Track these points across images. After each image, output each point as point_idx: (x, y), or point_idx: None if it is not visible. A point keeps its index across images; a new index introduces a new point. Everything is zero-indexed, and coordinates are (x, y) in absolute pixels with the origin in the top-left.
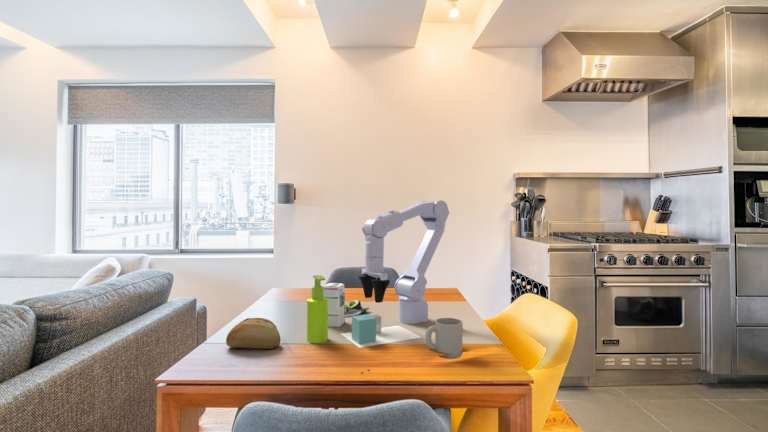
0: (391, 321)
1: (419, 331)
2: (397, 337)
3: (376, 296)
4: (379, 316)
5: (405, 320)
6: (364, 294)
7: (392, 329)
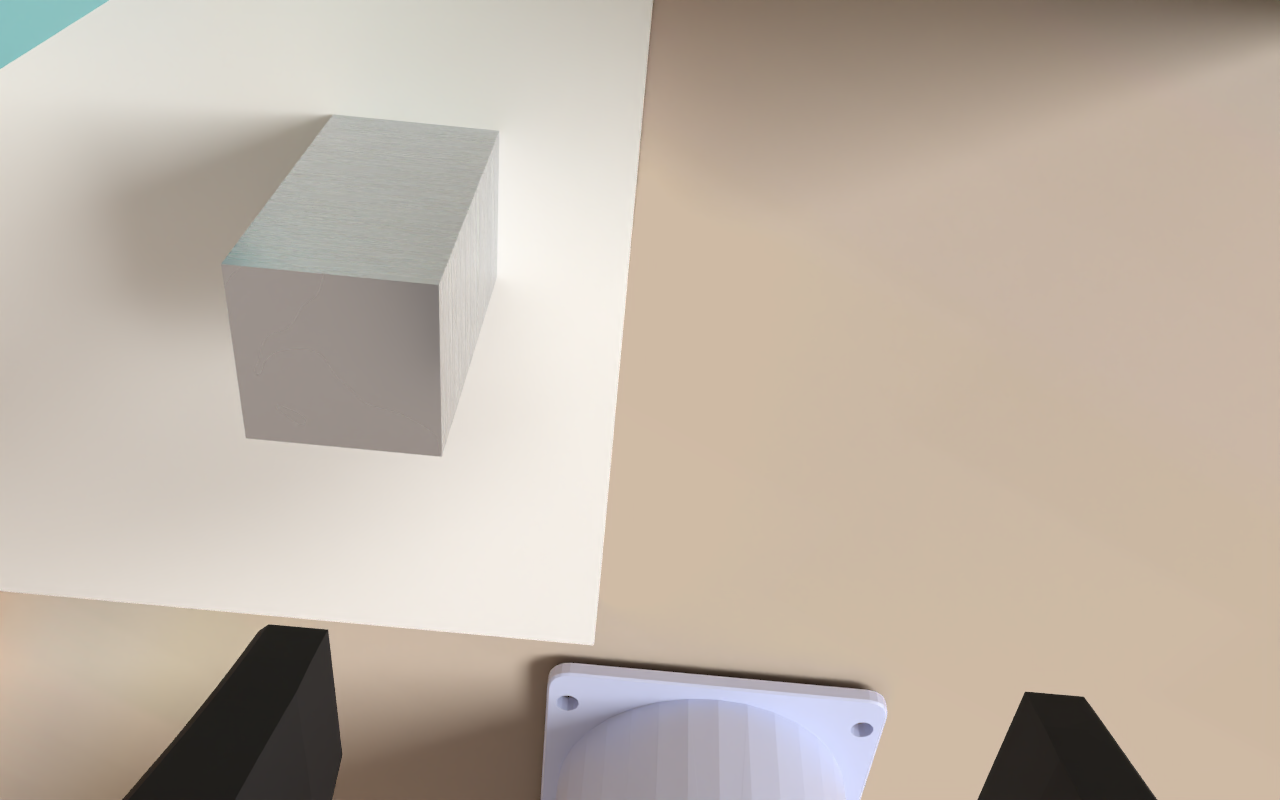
0: (1006, 718)
1: (413, 731)
2: (13, 343)
3: (146, 781)
4: (258, 412)
5: (618, 780)
6: (1127, 768)
7: (442, 491)
